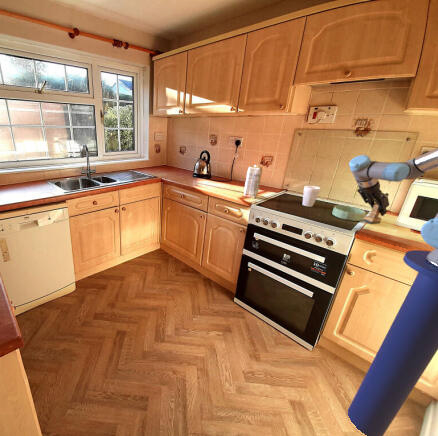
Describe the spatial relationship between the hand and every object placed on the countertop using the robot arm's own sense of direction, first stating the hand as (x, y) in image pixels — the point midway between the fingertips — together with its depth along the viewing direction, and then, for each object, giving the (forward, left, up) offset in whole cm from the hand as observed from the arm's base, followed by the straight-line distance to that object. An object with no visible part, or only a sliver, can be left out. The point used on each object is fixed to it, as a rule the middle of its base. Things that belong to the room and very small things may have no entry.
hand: (380, 212), depth 127 cm
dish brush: (-3, +3, -5) cm, 6 cm away
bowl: (+18, +10, -10) cm, 23 cm away
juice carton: (+29, +69, -10) cm, 75 cm away
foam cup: (+31, +31, -10) cm, 45 cm away
